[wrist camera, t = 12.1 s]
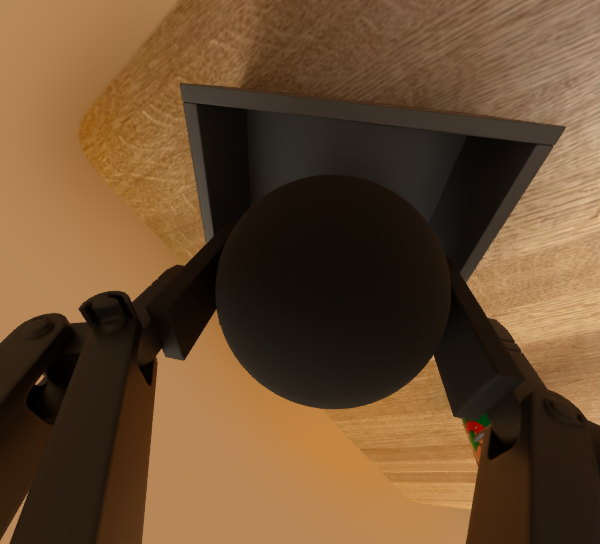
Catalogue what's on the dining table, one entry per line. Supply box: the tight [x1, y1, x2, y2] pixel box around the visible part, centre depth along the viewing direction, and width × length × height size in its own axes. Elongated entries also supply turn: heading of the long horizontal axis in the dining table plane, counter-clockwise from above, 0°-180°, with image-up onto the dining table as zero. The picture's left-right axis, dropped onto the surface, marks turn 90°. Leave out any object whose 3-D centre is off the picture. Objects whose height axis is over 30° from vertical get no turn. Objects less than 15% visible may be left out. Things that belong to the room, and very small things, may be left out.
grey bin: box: [180, 83, 566, 325], centre depth 16 cm, size 14×14×6 cm
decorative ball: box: [215, 175, 451, 409], centre depth 12 cm, size 10×10×10 cm
